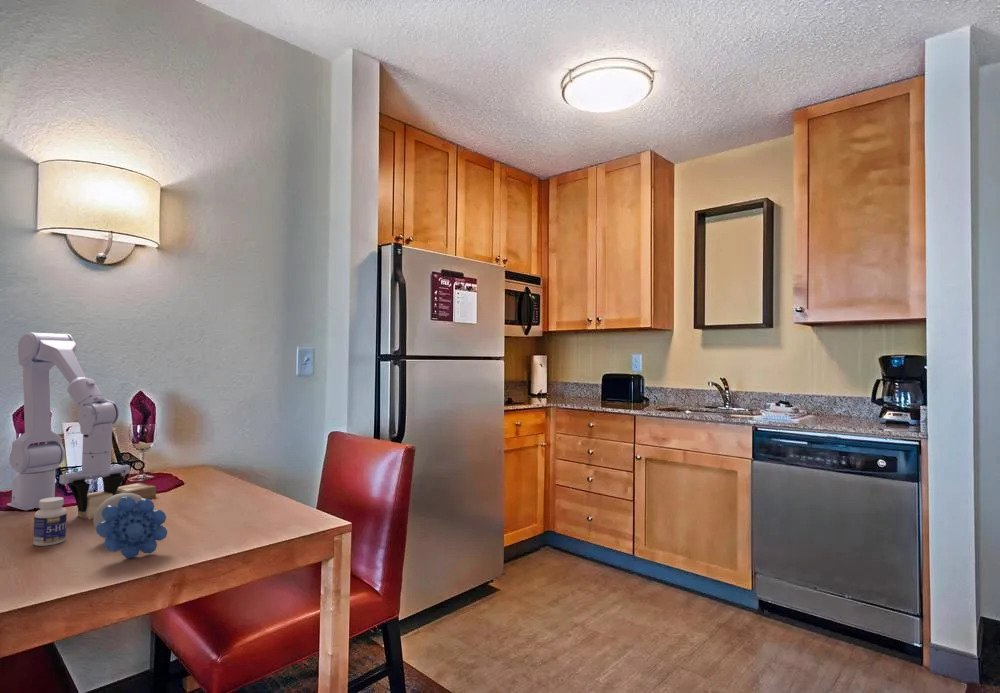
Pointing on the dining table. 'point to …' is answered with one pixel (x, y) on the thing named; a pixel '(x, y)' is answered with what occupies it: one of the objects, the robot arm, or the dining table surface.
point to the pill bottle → (50, 522)
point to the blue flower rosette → (132, 527)
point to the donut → (112, 502)
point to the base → (138, 490)
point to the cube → (94, 503)
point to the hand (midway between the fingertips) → (95, 508)
